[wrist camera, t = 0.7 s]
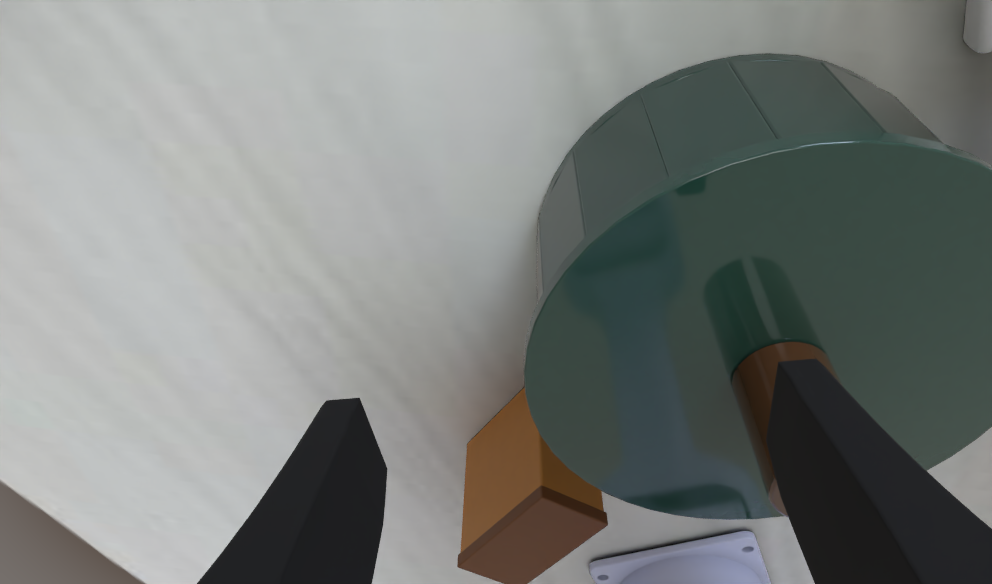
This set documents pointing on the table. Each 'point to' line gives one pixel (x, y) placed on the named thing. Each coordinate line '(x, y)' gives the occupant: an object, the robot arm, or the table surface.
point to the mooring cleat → (978, 25)
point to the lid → (767, 315)
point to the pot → (702, 134)
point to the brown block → (522, 501)
